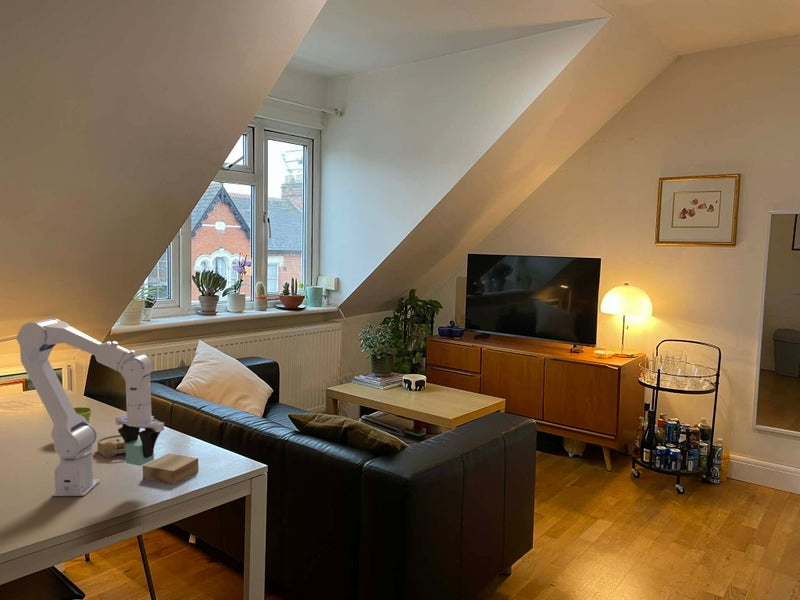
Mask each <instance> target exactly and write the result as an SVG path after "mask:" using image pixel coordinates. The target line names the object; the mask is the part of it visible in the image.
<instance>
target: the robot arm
mask: <svg viewBox="0 0 800 600" xmlns="http://www.w3.org/2000/svg"><path fill="white" fill-rule="evenodd" d="M15 339H16V341H17V343H18V345H19V350H20V353H19V355H20V362H21V364H22V366H23V368H24V370H25V372H26V374H27V376H28V378H29V379H30V382H31V384H32V385H33V387H34V388H35V390H36V392H37V394H38V396H39V399H40V400H41V403H42V404H43V406H44V408H45V410H46V411H47V413H48V415H49V418H50V419H51V421H52V423H53V426H52V430H51V432H50V437H52V439H53V449H54V451H55V453H56V454H57V456H59V459H60V461H59V464H58V465H57V466H56V468H55V470H54V485H55V486H54V488H55V491H54V492H52V493H51V497H76V496H77V497H78V496H79V497H81V496H85V495H87V494H88V493H89V492H90V491H92V489H93V488H94V487H95V486H96V485H97V484H98V483H100V482H101V479H98V478H97V479H96V478H95V479H94V463H93V462H94V461H93V460H94V458H93V445H94V444H95V443H96V442H97V439H98V434H97V430H96V429H95V427H94V426H93V425H91V424H90V423H88V422H87V420H86V419H85V417H83V416H81V415H79V414H77V413H76V412H75V410H74V405H73V404H72V403H71V400H70V399H69V397H68V395H67V393H66V391H65V389H64V387H63V385H62V383H61V381H60V380H59V377H58V376H57V374H56V372H55V370H54V368H53V366H52V364H51V362H50V360H49V357H50V355H51V352H52V351H53V349H54V348H55V346H56V345H57V344H58V345H59V344H65V345H68V346H71V347H73V348H76V349H79V350H82V351H83V352H85V353H89V354H91V355H93V356H94V357H95V360H96V362H97V363H99V364H102V365H103V366H106V367H108V368H110V369H112V370H114V371H116V372H119V373H120V374H121V376H122V377H123V378H124V380H125V395H126V396H125V399H126V401H125V402H126V415H122V414H121V415H119V416H115V418H114V419H115V425H117V426H120V425H122V426H121V427H120V428H118V429H117V431H118V433H119V435H121V436H122V438H123V440H124V442H125V444H126V443H129V442H131V441H134V440H137V439H139V438H140V439H141V442H142V447H143V455H144V458H148V457H151V456H152V454H153V450H155V446H156V442H157V439H158V437H159V436H160V434H161V432H163V431H165V422H162V421H159V420H158V419H155V418H154V417H155V416H154V415H152V392H151V390H152V389H151V388H152V387H151V386H152V385H151V373H152V372H153V371H154V367H155V365H154V360H153V359H152V358H151V357H150V355H148V354H146V353H144V352H143V353H136V351H135V350H133V349H132V350H129V349H127V348H125V347H122V346H121V345H119V342H118V341H115V340H114V341H106V342H100V341H99V340H97V339H95V338H93V337H91V336H89V335H88V334H86V333H84V332H82V331H80V330H78V329H76V328H75V327H73V326H71V325H70V324H68V322H65V321H62V320H60V319H58V318H55V317H48V318H45V319H41V320H38V321H33V322H32V321H31V322H30V321H29V322H27V323H25V324H23V325H22V326H21V327H20V328H19V331H18V332H17V335H16V336H15ZM141 429H144V430H141ZM140 430H141V431H140Z"/></svg>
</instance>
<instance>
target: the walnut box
mask: <svg viewBox="0 0 800 600" xmlns="http://www.w3.org/2000/svg"><path fill="white" fill-rule="evenodd" d="M195 472H196V473H197V472H199V458H198V457H192V456H188V455H187V456H185V455H180V454H174V453H167V454H165V455H162V456H161V457H158V458H156V459H154V460H152V461H150V462H148V463H145V464H143V465H142V479H143V480H146V479H148V480H147V481H151V480H153V482H157V481H159V482H158V483H162V482H163V483H164V484H169V485H173V486H174V485H175V484H177V483H179V482H182V481H183V480H185V479H186V477H187V478H188V476H189V477H191V476H192V475H194V474H196V473H195ZM193 473H194V474H193ZM191 474H192V475H191ZM184 478H185V479H184Z"/></svg>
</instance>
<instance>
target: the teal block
mask: <svg viewBox="0 0 800 600" xmlns="http://www.w3.org/2000/svg"><path fill="white" fill-rule="evenodd" d="M154 450H155V449H154ZM154 450H153V454H152V456H151V457H148V458H144V455H143V447H142V442H141V439H140V437H138V439H137V440H134V441H131V442H129V443H126V454H125V458H126V459H125V463H126V464H129V465H135V466H140V467H141V466H143V465H145V464H147V463H149V462H152V461H154V460H155V453H154V452H155V451H154Z"/></svg>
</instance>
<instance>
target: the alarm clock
mask: <svg viewBox="0 0 800 600" xmlns="http://www.w3.org/2000/svg"><path fill="white" fill-rule="evenodd" d="M96 443H97V454H101V456H103V457H104V458H107V459H109V457H111V458H113V457H115V456H116V455H118V454H125V455H126V444H125V442H124V440H123V438H122V436H121V435H120V434H115V435H110V436H106V437H103V438H100V439H98V440H96Z"/></svg>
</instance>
